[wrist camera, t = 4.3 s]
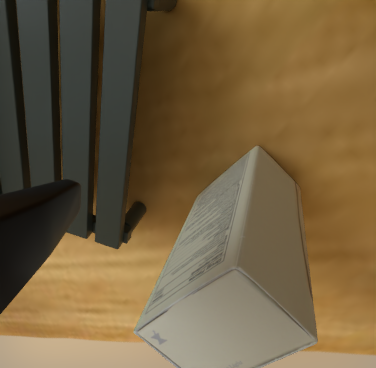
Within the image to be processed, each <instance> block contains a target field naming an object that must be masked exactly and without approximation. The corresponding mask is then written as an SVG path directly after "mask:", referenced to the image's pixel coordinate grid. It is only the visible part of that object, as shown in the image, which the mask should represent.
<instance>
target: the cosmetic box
mask: <svg viewBox="0 0 376 368" xmlns="http://www.w3.org/2000/svg"><path fill="white" fill-rule="evenodd" d="M134 333H135V334H136V335H137V336H139V337H140V338H141V339H143V340H144V341H145V342H146V343H147V344H148V345H150V346H151V347H152V348H154V349H155V350H156V351H157V352H158V353H160V354H161V355H162V356H163V357H164V358H165V359H167V360H168V361H169V362H170V363H172V364H173V365H174V366H175V367H177V368H261V367H264V366H266V365H267V364H270V363H273V362H275V361H278V360H280V359H283V358H284V357H286V356H289V355H291V354H294V353H296V352H298V351H301V350H303V349H305V348H308V347H310V346H312V345H314V344H316V343H317V341H318V339H317V329H316V321H315V314H314V306H313V297H312V288H311V278H310V269H309V262H308V253H307V245H306V236H305V227H304V219H303V210H302V201H301V192H300V187H299V185H298V184H297V183H296V182H295V181H294V180H293V179H292V178H291V177H290V176H289V175H288V174H287V173H286V172H285V171H284V170H283V169H282V168H281V167H280V166H279V165H278V164H277V163H276V162H275V161H274V160H273V159H272V158H271V157H270V156H269V155H268V154H267V153H266V152H265V151H264V150H263V149H262V148H261V147H260V146H255V147H254V148H253V149H251V150H250V151H249V152H248V153H246V154H245V155H244V156H243V157H242V158H240V159H239V160H238V161H237V162H236V163H234V164H233V165H232V166H231V167H230V168H228V169H227V170H226V171H225V172H224V173H223V174H221V175H220V176H219V177H218V178H217V179H216V180H214V181H213V182H212V183H211V184H210V185H209V186H208V187H207V188H206V189H204V190H203V191H202V192H201V193H200V194H199V195H198V196H197V198H196V200H195V202H194V204H193V206H192V209H191V211H190V213H189V215H188V217H187V219H186V221H185V223H184V225H183V227H182V230H181V232H180V234H179V236H178V238H177V240H176V242H175V245H174V247H173V249H172V251H171V253H170V255H169V257H168V259H167V261H166V264H165V266H164V268H163V270H162V272H161V274H160V276H159V278H158V280H157V282H156V285H155V287H154V289H153V291H152V293H151V295H150V297H149V300H148V302H147V304H146V306H145V308H144V310H143V312H142V314H141V316H140V319H139V321H138V323H137V325H136V327H135V329H134Z"/></svg>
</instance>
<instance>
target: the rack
mask: <svg viewBox="0 0 376 368" xmlns="http://www.w3.org/2000/svg"><path fill="white" fill-rule="evenodd" d="M176 2H177V0H106V6H105V28H104V50H103V72H102V95H101V117H100V139H99V161H98V183H97V206H96V215H93V194H94V168H95V142H96V116H97V90H98V63H99V37H100V11H101V0H59V6H60V56H61V105H62V155H63V180H64V179H69V180H72V181H75V182H78V183H79V184H80V185H81V206H80V210H79V213H78V215H77V216H76V218H75V219H74V221H73V222H72V224H71V225H70V227H69V228H68V230H67V231H66V232H67V233H70V234H73V235H76V236H79V237H82V238H85V239H87V238H88V237H89V236H90V234H91V233H92V232H93V233H95V242H97V243H100V244H103V245H106V246H109V247H112V248H115V249H119V247H120V246H121V244H122V243H126V244H127V243H128V241H129V240H130V238H131V234H132V232H133V230H134V229H135V227H136V226H137V224H138V223H139V221H140V220H141V218H142V217H143V215H144V214H145V212H146V206H145V205H144V204H143V203H141V202H135V203H134V204H133V205H132V206H131V207H130V209H129V210H128V211H127V213H126V205H127V196H128V186H129V176H130V167H131V157H132V148H133V138H134V128H135V119H136V109H137V100H138V90H139V80H140V71H141V61H142V52H143V42H144V33H145V23H146V13H147V11H171V10H172V9H173V8H174V7H175V5H176ZM16 5H17V9H16ZM17 17H18V21H17ZM18 30H19V34H18ZM19 42H20V46H19ZM20 55H21V58H20ZM21 67H22V70H21ZM22 79H23V83H22ZM23 92H24V95H23ZM24 104H25V107H24ZM25 116H26V120H25ZM26 129H27V132H26ZM27 141H28V144H27ZM28 153H29V156H28ZM29 166H30V169H29ZM30 178H31V181H30ZM60 180H61V145H60V102H59V59H58V16H57V0H0V195H1V194H5V193H9V192H14V191H18V190H22V189H26V188H30V187H34V186H39V185H43V184H47V183H51V182H55V181H60Z"/></svg>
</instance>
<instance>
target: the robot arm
mask: <svg viewBox="0 0 376 368" xmlns="http://www.w3.org/2000/svg"><path fill="white" fill-rule="evenodd" d="M80 206H81V185H80V184H79V183H78V182H75V181H72V180H69V179H64V180H60V181H55V182H51V183H47V184H43V185H39V186H34V187H30V188H26V189H22V190H18V191H14V192H9V193H5V194H1V195H0V314H1V313H2V312H3V311H4V309H5V308H6V307H7V306H8V305H9V303H10V302H11V301H12V300H13V299H14V297H15V296H16V295H17V294H18V293H19V292H20V290H21V289H22V288H23V287H24V286H25V284H26V283H27V282H28V281H29V280H30V279H31V277H32V276H33V275H34V274H35V273H36V271H37V270H38V269H39V268H40V267H41V265H42V264H43V263H44V262H45V261H46V259H47V258H48V257H49V256H50V255H51V253H52V252H53V250H54V249H55V247H56V246H57V245H58V243H59V242H60V240H61V239H62V237H63V236H64V234H65V233H66V231H67V230H68V228H69V227H70V225H71V224H72V222H73V221H74V219H75V218H76V216H77V215H78V213H79V210H80Z"/></svg>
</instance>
